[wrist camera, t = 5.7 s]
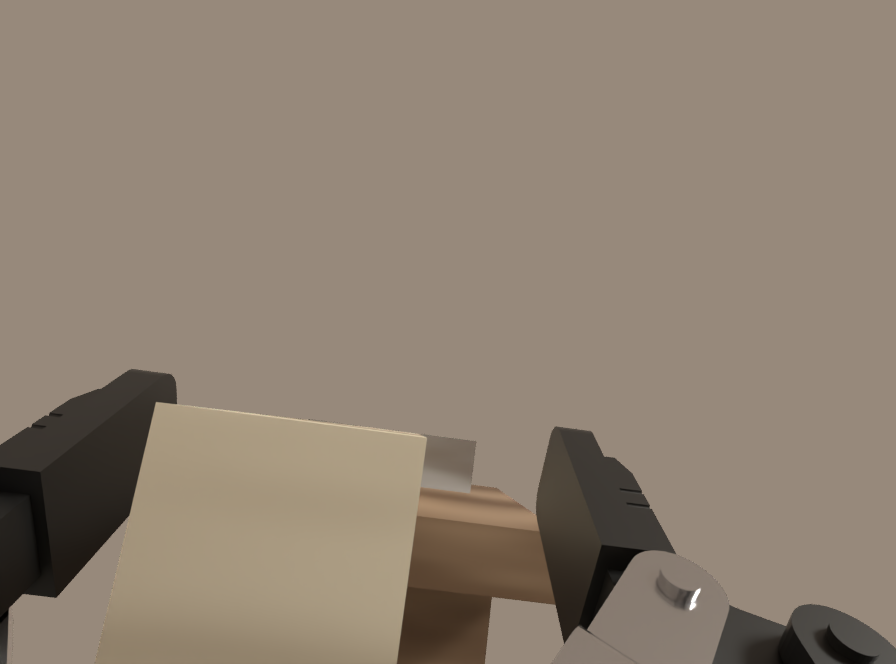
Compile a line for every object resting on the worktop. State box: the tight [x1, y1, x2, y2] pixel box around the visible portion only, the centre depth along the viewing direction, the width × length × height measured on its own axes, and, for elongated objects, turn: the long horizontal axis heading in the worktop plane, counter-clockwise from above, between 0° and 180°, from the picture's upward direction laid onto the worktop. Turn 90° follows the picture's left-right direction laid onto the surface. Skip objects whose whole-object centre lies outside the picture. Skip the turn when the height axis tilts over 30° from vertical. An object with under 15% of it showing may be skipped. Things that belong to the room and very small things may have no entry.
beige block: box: [95, 402, 476, 664], centre depth 16 cm, size 24×8×2 cm, turn 3°
